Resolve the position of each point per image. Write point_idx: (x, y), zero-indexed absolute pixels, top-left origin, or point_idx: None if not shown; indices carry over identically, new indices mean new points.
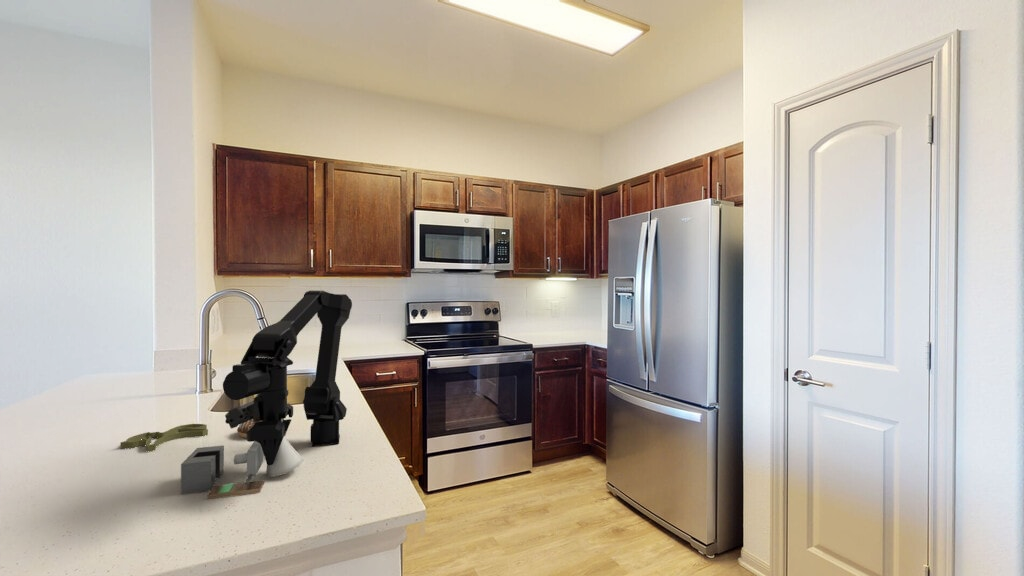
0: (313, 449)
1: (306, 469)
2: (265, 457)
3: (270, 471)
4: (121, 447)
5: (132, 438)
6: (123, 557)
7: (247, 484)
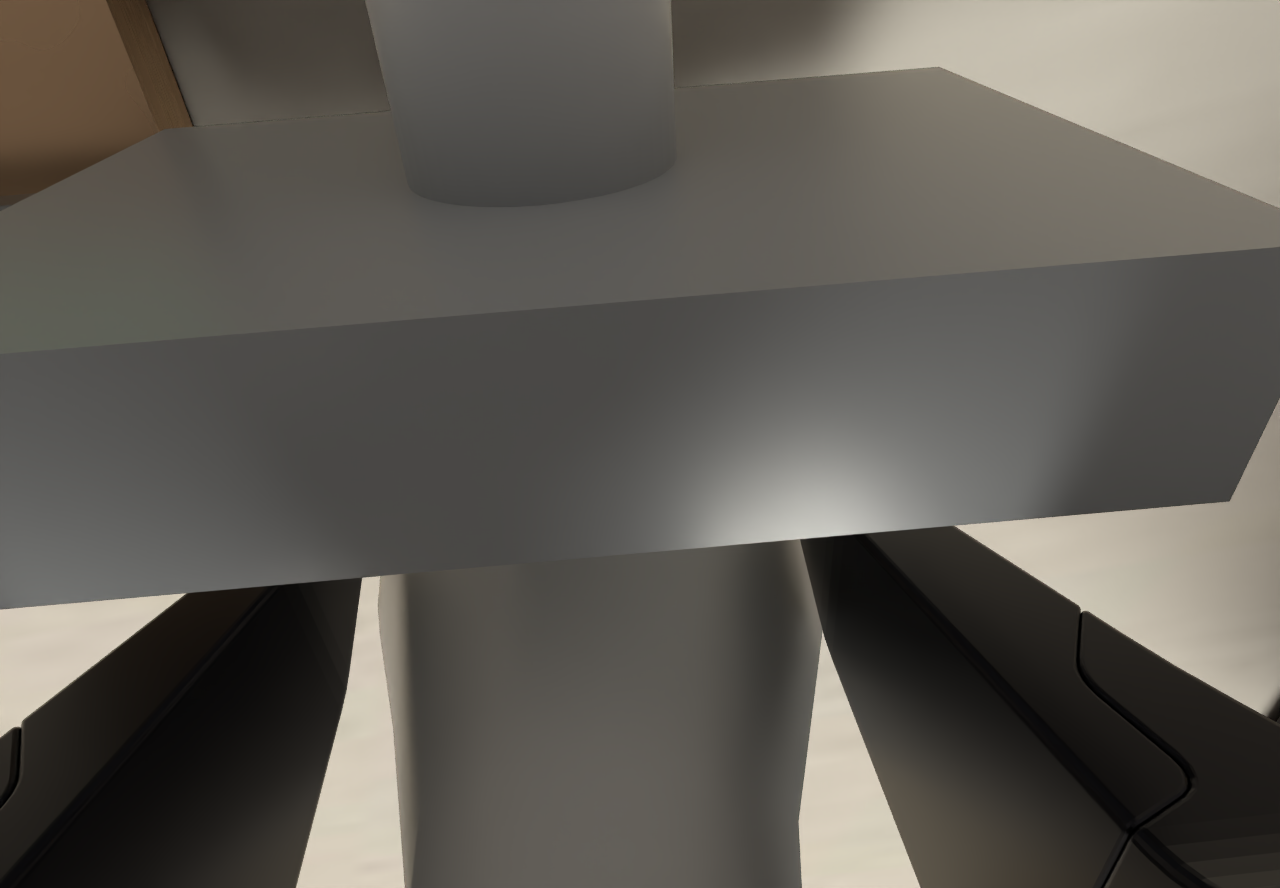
0: (1258, 613)
1: None
2: (164, 620)
3: None
4: None
5: None
6: None
7: (64, 173)
